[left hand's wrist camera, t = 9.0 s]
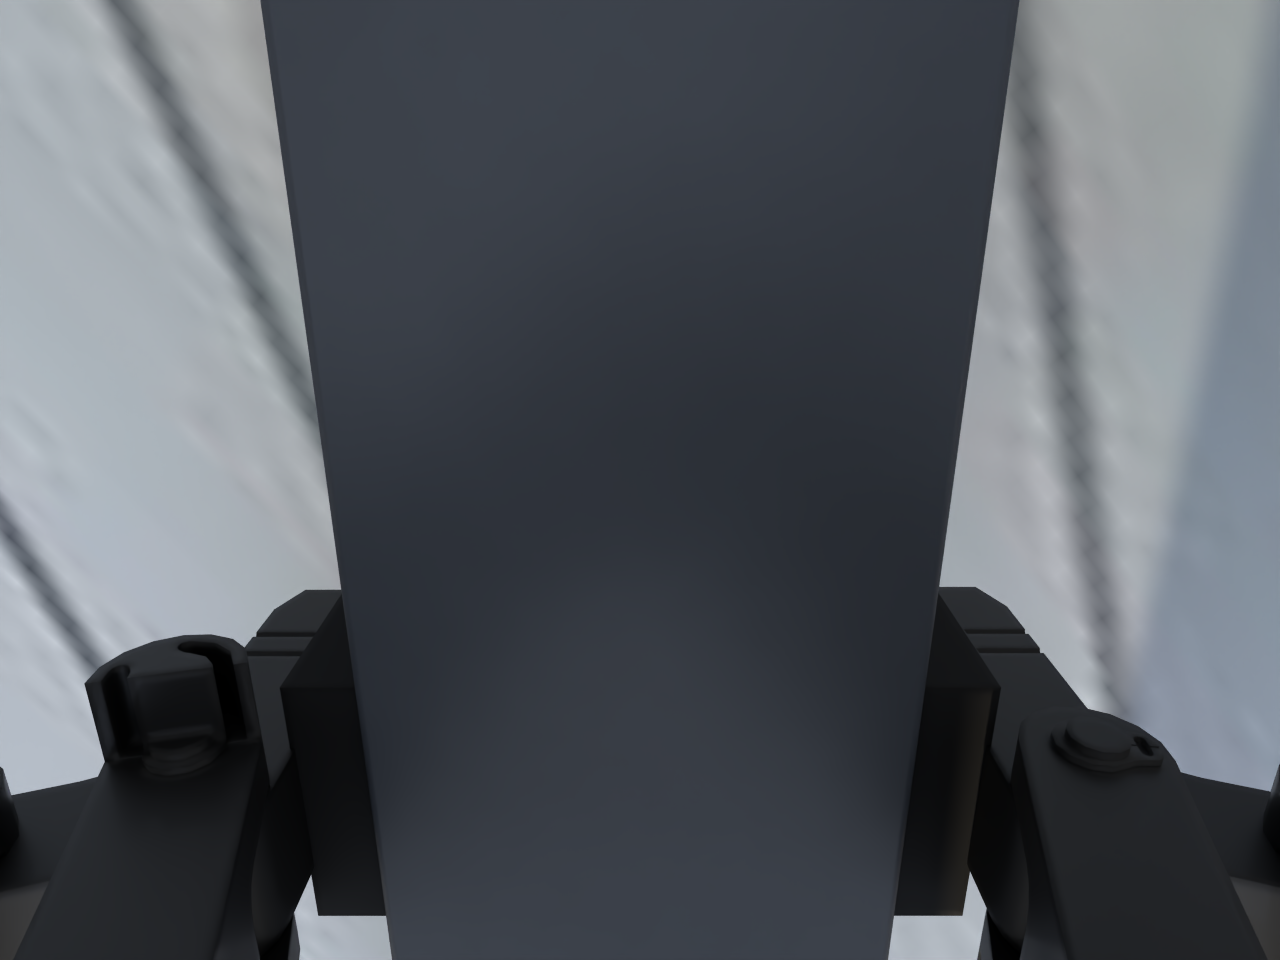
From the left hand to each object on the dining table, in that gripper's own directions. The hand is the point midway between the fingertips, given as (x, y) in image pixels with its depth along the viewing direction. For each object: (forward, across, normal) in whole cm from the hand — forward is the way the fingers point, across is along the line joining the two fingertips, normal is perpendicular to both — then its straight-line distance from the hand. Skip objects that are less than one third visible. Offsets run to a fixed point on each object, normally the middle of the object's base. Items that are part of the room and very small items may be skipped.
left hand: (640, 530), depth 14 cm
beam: (+1, 0, -24) cm, 24 cm away
